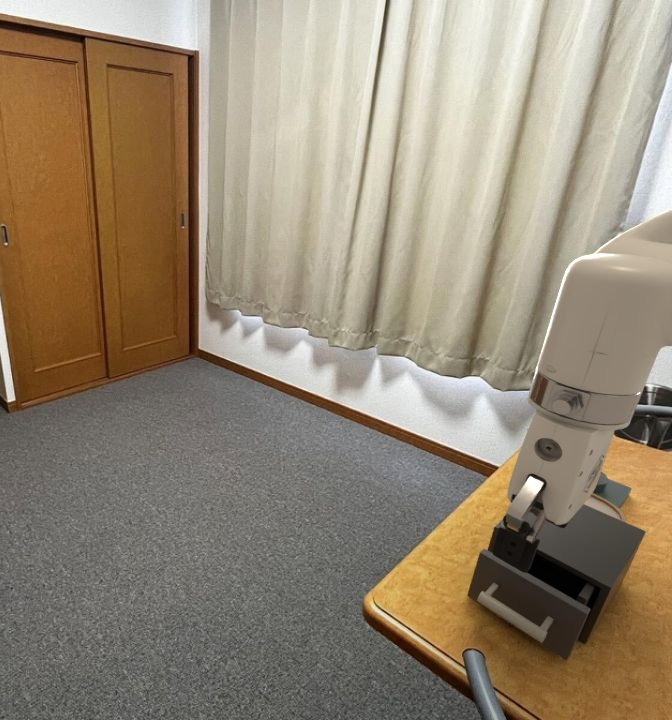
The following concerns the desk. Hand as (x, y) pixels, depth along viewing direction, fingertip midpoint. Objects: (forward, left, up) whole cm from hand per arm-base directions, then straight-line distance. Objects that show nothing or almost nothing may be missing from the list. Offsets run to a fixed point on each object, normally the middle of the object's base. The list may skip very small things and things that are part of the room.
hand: (529, 540), depth 49 cm
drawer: (0, -11, -18) cm, 21 cm away
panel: (+4, -46, -19) cm, 50 cm away
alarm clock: (+1, -33, -19) cm, 38 cm away
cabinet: (0, -19, -19) cm, 26 cm away
